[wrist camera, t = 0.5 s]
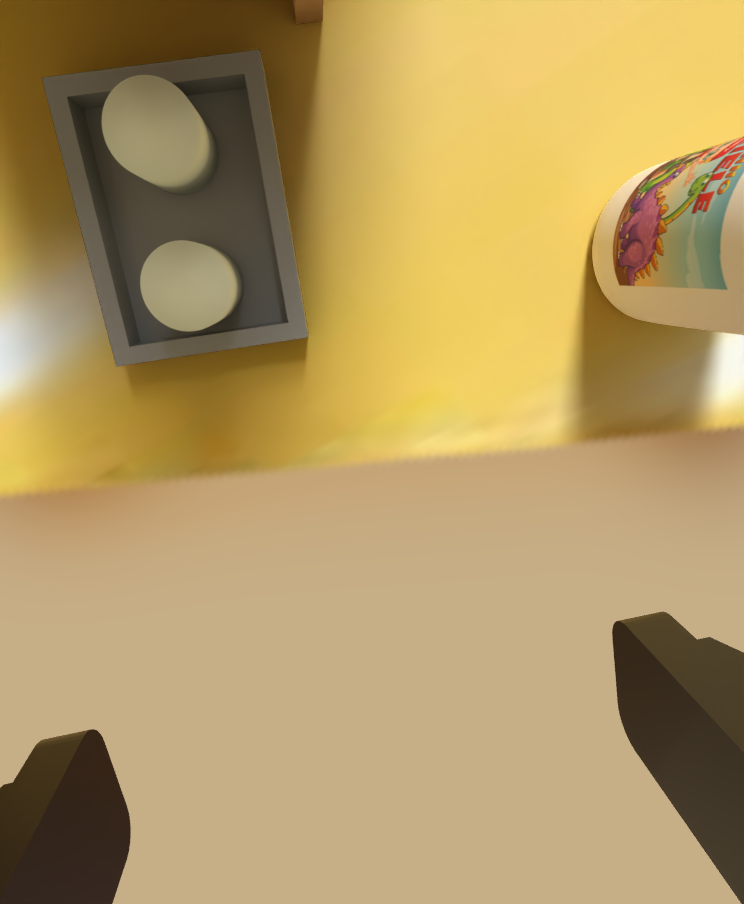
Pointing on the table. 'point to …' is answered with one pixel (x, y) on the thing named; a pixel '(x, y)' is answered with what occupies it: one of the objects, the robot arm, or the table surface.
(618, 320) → the table surface
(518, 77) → the table surface
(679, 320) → the milk bottle
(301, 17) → the brown wooden cube
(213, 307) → the cream piece
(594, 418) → the table surface
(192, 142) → the cream cylinder
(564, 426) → the table surface
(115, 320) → the tray
